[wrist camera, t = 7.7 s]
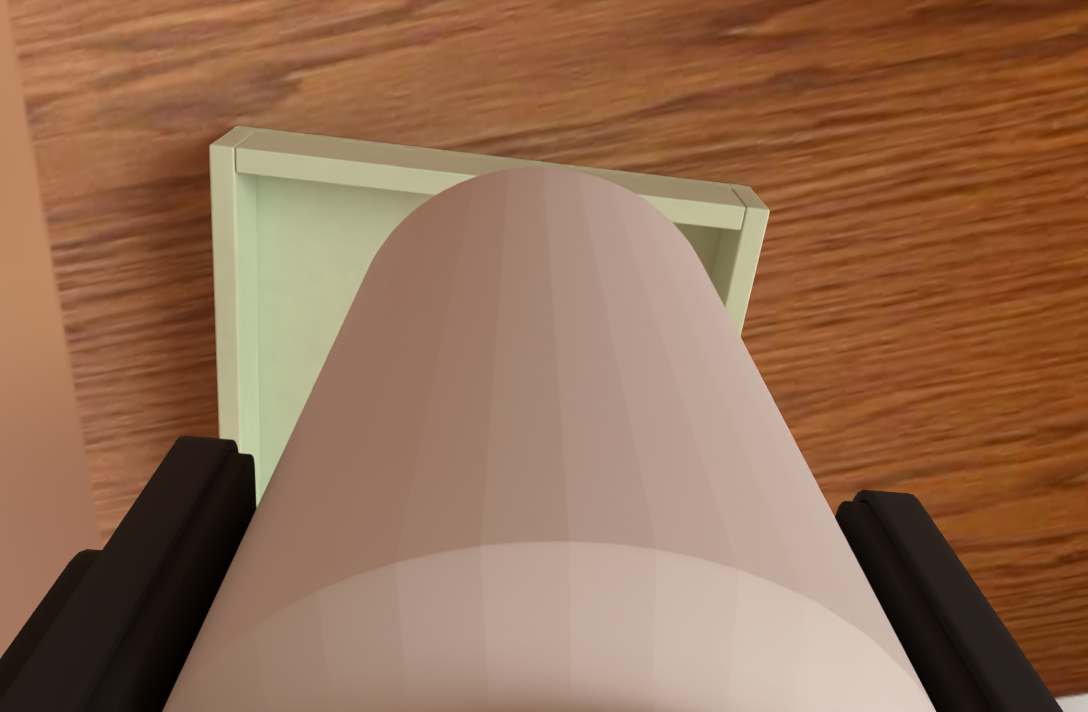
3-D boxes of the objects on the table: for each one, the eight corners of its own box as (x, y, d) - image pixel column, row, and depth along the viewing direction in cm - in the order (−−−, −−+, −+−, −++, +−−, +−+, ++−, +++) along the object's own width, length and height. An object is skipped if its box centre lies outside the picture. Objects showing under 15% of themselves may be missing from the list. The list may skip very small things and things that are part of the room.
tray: (245, 549, 38) (223, 597, 35) (236, 125, 30) (207, 144, 28) (660, 585, 39) (670, 634, 36) (749, 185, 32) (770, 210, 29)
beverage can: (586, 524, 19) (673, 1369, 8) (299, 377, 17) (-95, 1179, 6) (780, 275, 16) (1292, 972, 5) (470, 79, 15) (325, 510, 4)
